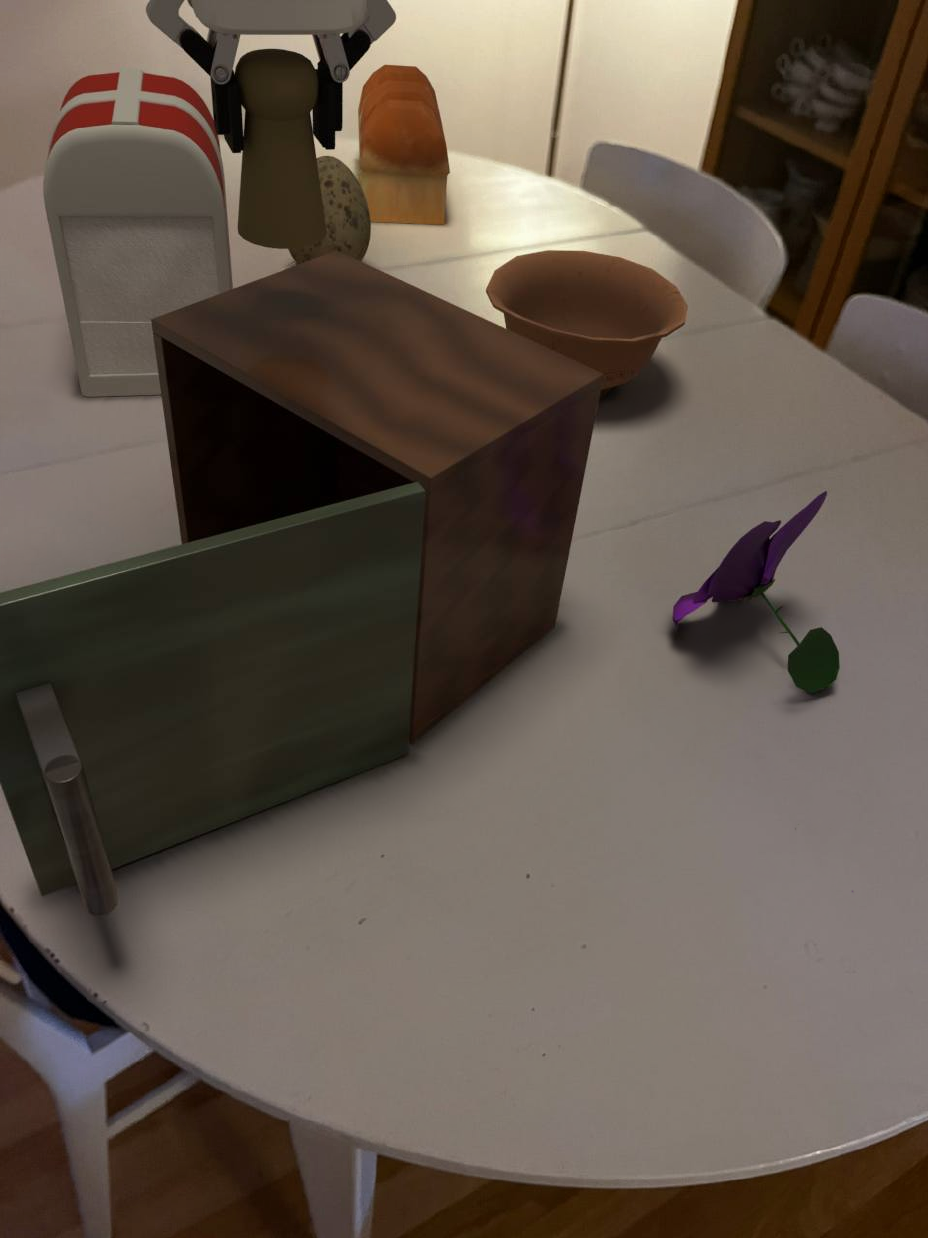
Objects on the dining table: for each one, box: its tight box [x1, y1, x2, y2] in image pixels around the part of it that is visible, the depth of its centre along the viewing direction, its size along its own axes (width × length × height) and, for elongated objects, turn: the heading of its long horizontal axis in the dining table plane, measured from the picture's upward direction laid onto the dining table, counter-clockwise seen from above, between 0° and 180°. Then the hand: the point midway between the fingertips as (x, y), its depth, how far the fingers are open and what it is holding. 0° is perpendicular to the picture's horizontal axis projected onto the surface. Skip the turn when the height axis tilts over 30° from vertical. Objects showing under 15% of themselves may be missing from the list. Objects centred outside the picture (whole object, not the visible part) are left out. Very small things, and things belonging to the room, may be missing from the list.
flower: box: [671, 490, 841, 694], centre depth 82 cm, size 15×15×14 cm
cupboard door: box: [0, 482, 425, 917], centre depth 60 cm, size 8×26×24 cm, turn 120°
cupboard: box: [151, 251, 604, 745], centre depth 78 cm, size 18×26×24 cm
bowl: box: [485, 249, 689, 398], centre depth 114 cm, size 22×22×11 cm
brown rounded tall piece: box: [234, 48, 327, 250], centre depth 66 cm, size 6×6×11 cm
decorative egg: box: [287, 155, 372, 265], centre depth 127 cm, size 11×11×15 cm
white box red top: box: [42, 68, 234, 398], centre depth 105 cm, size 16×18×27 cm
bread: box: [357, 64, 451, 226], centre depth 150 cm, size 25×12×15 cm, turn 5°
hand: (279, 141), depth 66 cm, fingers closed on brown rounded tall piece, 5 cm apart
